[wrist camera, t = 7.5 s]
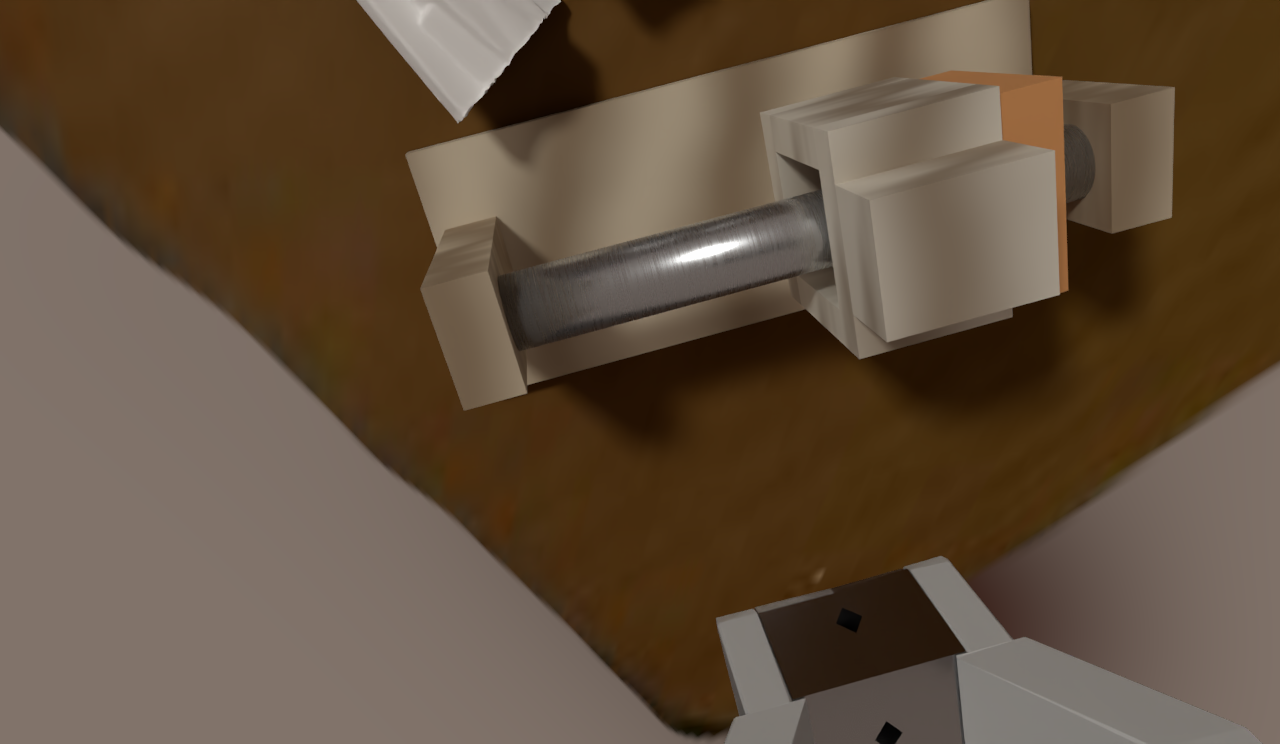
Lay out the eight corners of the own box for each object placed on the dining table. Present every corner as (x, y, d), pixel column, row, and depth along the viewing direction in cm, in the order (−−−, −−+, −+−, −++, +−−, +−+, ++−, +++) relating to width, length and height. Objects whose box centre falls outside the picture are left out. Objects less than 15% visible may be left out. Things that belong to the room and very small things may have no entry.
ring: (951, 70, 29) (1062, 76, 23) (965, 244, 32) (1068, 290, 26) (897, 84, 29) (995, 94, 23) (916, 257, 32) (1008, 307, 26)
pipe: (1045, 118, 28) (1096, 125, 25) (1048, 194, 29) (1097, 208, 26) (497, 264, 27) (495, 286, 24) (520, 337, 28) (520, 365, 26)
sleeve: (894, 77, 29) (1052, 90, 20) (913, 262, 32) (1061, 344, 23) (759, 112, 29) (861, 141, 20) (791, 295, 32) (893, 390, 23)
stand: (1016, -8, 31) (1193, -27, 23) (1028, 241, 35) (1183, 301, 27) (408, 152, 31) (365, 191, 22) (488, 388, 35) (478, 496, 26)
